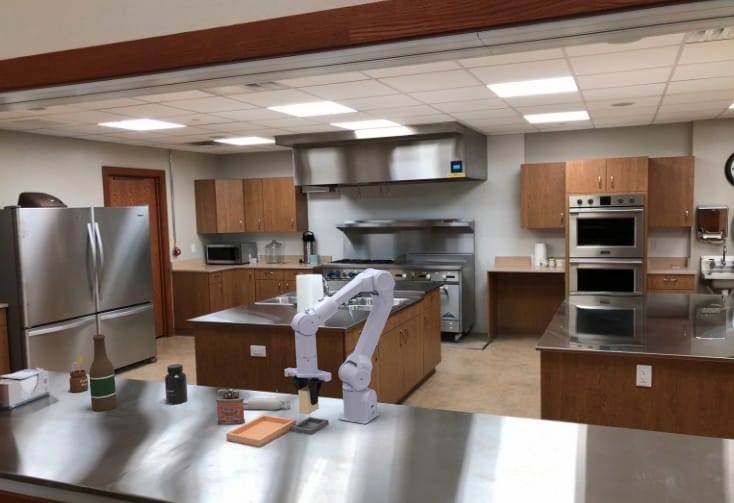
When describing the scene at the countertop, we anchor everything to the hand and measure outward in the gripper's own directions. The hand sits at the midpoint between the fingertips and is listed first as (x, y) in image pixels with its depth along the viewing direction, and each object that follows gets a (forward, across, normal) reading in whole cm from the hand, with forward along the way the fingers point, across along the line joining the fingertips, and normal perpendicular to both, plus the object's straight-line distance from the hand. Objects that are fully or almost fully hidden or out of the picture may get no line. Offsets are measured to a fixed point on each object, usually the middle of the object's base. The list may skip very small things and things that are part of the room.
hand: (309, 403), depth 166 cm
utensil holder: (+7, -99, -3) cm, 99 cm away
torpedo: (+8, -23, +7) cm, 25 cm away
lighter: (+7, -24, -6) cm, 26 cm away
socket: (+7, 0, 0) cm, 7 cm away
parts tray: (+7, -10, -9) cm, 15 cm away
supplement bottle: (+7, -55, +2) cm, 56 cm away
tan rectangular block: (+2, 0, 0) cm, 2 cm away
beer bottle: (+7, -73, -12) cm, 74 cm away
